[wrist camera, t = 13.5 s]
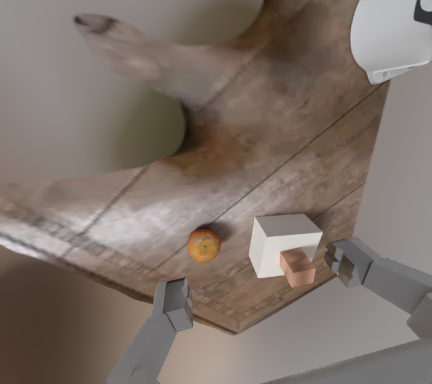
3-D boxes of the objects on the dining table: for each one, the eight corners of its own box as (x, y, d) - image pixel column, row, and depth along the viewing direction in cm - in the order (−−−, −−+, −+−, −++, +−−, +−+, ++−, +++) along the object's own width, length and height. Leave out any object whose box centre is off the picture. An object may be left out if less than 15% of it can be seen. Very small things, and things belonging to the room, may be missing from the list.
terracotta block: (299, 247, 42) (315, 267, 37) (298, 261, 44) (312, 282, 39) (279, 251, 42) (293, 273, 36) (279, 265, 44) (291, 287, 39)
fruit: (188, 257, 47) (188, 268, 39) (187, 227, 47) (186, 232, 39) (218, 254, 48) (223, 264, 40) (216, 225, 48) (221, 229, 40)
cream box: (303, 213, 48) (323, 232, 41) (291, 250, 54) (307, 272, 47) (254, 216, 46) (267, 237, 39) (248, 254, 52) (258, 278, 45)
